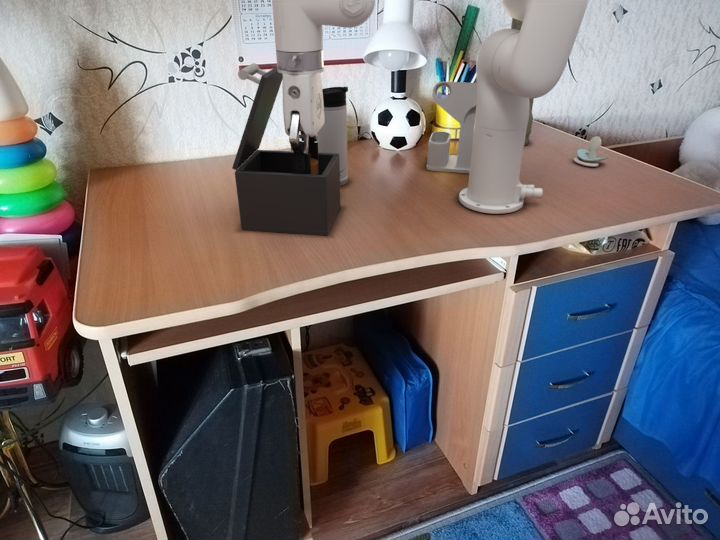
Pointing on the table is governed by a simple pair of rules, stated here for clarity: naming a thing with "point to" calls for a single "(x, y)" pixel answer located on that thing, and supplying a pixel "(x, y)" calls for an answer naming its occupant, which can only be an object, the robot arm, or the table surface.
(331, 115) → the travel mug
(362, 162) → the table surface
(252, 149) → the lid
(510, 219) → the table surface
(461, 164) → the gray holder stand
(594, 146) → the pacifier
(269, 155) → the dark storage box
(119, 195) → the table surface
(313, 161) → the orange cylinder
